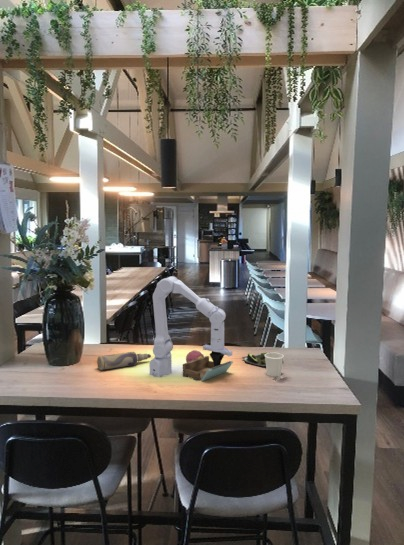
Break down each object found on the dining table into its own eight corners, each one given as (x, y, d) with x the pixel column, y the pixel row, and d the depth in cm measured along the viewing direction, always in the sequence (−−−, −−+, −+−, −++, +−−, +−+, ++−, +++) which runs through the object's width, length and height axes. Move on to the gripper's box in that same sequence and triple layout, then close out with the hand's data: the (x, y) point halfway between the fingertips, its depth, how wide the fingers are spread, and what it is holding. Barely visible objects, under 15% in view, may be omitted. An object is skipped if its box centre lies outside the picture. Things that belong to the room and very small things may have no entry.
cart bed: (198, 384, 182) (198, 369, 181) (181, 379, 189) (181, 364, 188) (225, 373, 195) (225, 359, 194) (208, 369, 202) (208, 355, 201)
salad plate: (262, 354, 226) (262, 345, 226) (291, 361, 214) (291, 352, 213) (237, 362, 213) (237, 353, 213) (266, 370, 200) (266, 361, 200)
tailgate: (201, 382, 182) (210, 370, 178) (200, 380, 182) (208, 368, 178) (225, 372, 194) (233, 360, 190) (224, 371, 194) (232, 359, 190)
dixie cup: (269, 381, 185) (269, 358, 184) (261, 375, 193) (261, 353, 192) (286, 379, 187) (287, 357, 186) (278, 373, 195) (278, 351, 194)
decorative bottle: (101, 373, 198) (100, 358, 197) (96, 368, 204) (96, 354, 204) (154, 364, 210) (153, 350, 209) (148, 360, 217) (148, 346, 216)
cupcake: (203, 353, 208) (207, 347, 197) (202, 371, 205) (206, 366, 194) (185, 351, 207) (188, 345, 197) (184, 369, 204) (186, 364, 193)
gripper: (236, 339, 183) (236, 370, 184) (210, 333, 192) (210, 363, 194) (226, 342, 178) (226, 374, 179) (199, 336, 187) (199, 367, 189)
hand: (217, 369), depth 186 cm, fingers closed, pressing on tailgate
